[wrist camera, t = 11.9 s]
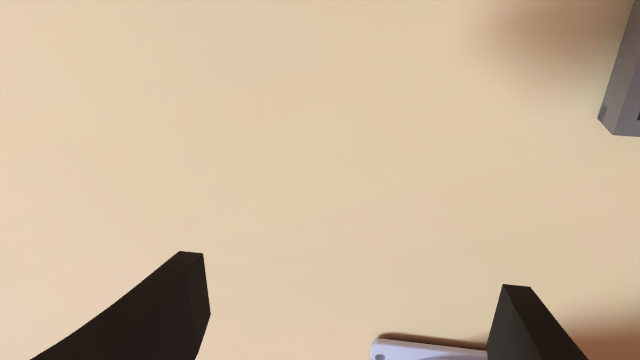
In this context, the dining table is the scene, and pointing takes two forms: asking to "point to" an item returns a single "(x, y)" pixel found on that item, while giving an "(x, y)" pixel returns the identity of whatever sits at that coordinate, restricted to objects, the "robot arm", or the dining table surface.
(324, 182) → the dining table surface
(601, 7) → the dining table surface
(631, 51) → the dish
